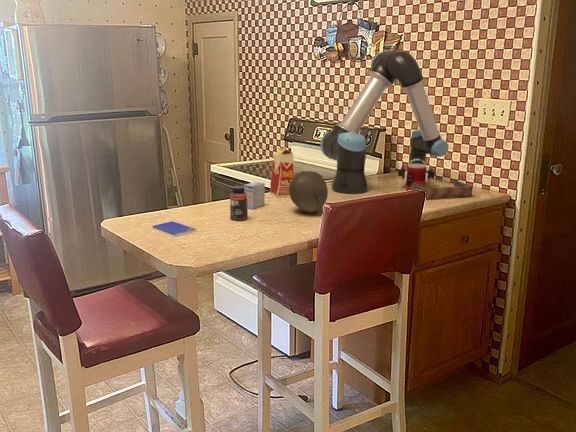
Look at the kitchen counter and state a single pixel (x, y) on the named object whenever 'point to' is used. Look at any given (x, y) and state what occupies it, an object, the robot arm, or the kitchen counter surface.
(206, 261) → the kitchen counter surface
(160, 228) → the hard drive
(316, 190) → the dark grey round ball
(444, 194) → the rail board
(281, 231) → the kitchen counter surface
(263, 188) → the medicine box
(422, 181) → the canned food
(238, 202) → the supplement bottle
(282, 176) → the milk carton
